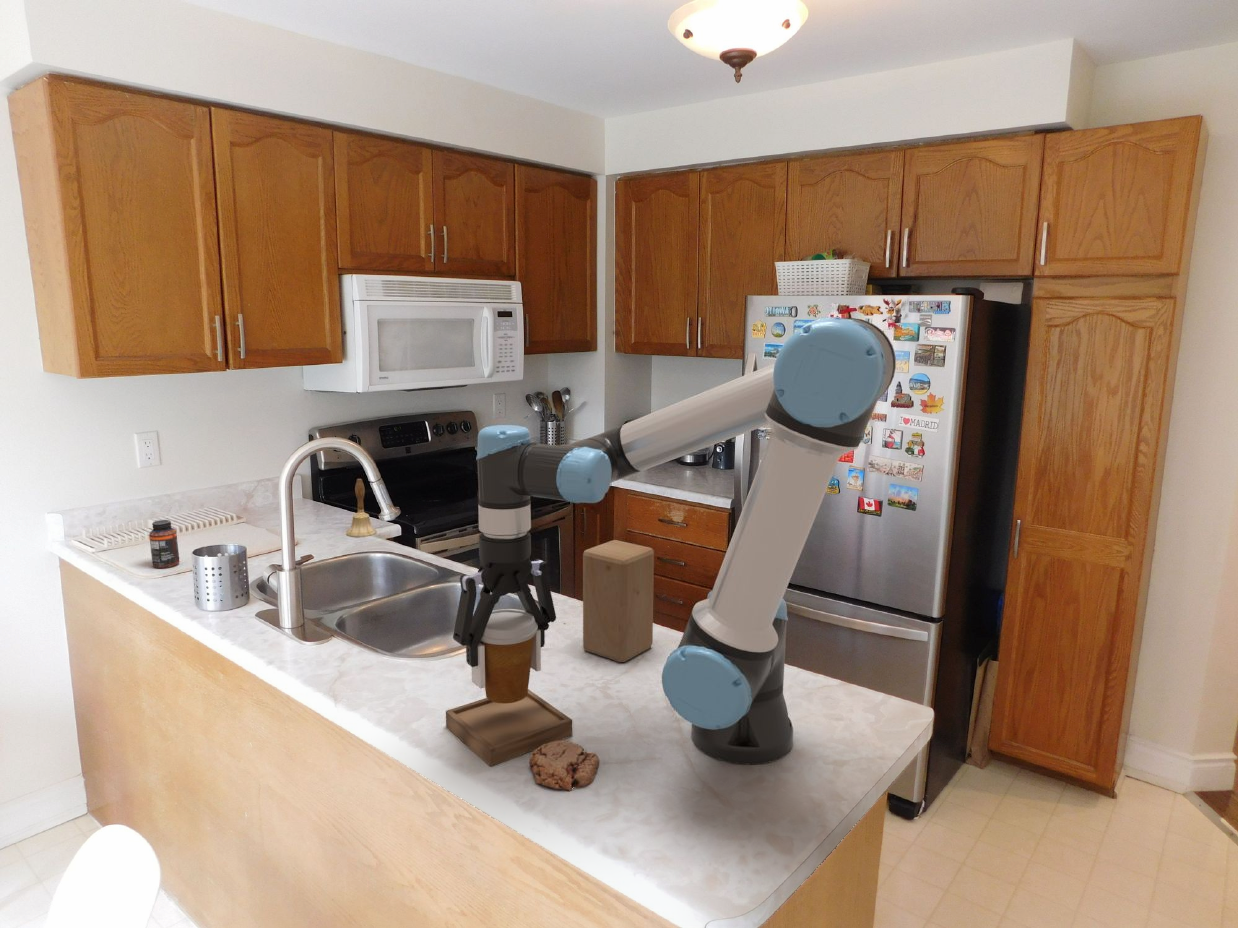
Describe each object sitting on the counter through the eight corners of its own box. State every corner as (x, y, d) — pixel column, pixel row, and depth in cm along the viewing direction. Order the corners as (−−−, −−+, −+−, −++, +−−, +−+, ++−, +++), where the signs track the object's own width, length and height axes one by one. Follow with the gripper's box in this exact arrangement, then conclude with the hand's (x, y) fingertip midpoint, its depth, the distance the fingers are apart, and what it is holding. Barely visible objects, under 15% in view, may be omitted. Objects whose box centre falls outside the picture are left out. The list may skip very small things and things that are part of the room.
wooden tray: (572, 735, 123) (572, 719, 123) (490, 766, 115) (490, 749, 114) (524, 700, 134) (523, 685, 133) (446, 726, 125) (445, 710, 125)
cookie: (560, 744, 121) (560, 726, 120) (614, 770, 114) (614, 751, 114) (510, 772, 114) (510, 753, 113) (565, 802, 107) (565, 781, 106)
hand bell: (382, 530, 236) (379, 476, 233) (367, 538, 228) (364, 482, 225) (356, 528, 238) (353, 475, 235) (340, 536, 230) (337, 481, 227)
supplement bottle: (172, 560, 207) (168, 517, 205) (184, 564, 203) (180, 520, 201) (148, 566, 202) (143, 522, 200) (159, 570, 198) (155, 525, 196)
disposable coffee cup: (474, 711, 118) (472, 633, 116) (475, 681, 127) (473, 609, 125) (540, 706, 119) (539, 629, 117) (536, 678, 129) (535, 606, 126)
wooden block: (623, 665, 148) (624, 559, 144) (580, 651, 153) (580, 549, 150) (654, 647, 155) (656, 547, 152) (613, 634, 161) (613, 537, 158)
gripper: (552, 515, 128) (553, 650, 132) (424, 537, 115) (429, 686, 119) (580, 526, 122) (579, 666, 126) (448, 550, 109) (452, 706, 113)
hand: (507, 675), depth 123 cm, fingers closed on disposable coffee cup, 9 cm apart
